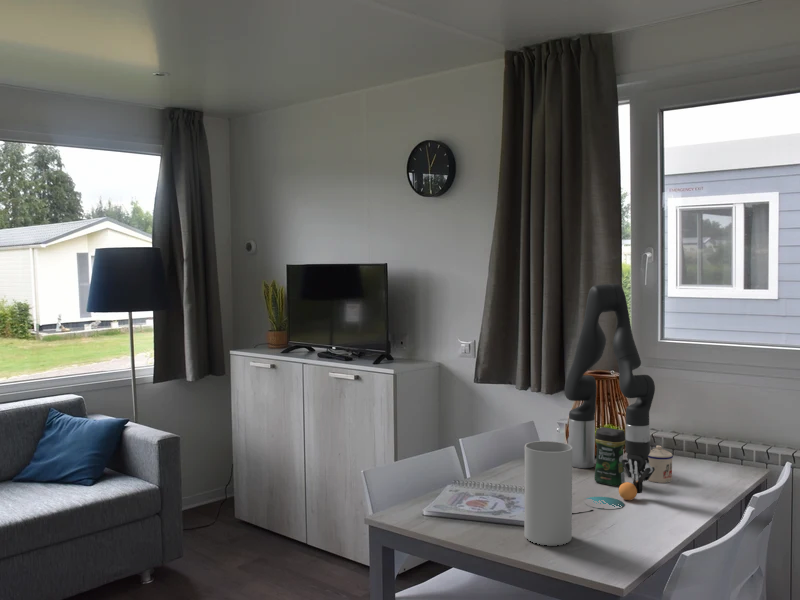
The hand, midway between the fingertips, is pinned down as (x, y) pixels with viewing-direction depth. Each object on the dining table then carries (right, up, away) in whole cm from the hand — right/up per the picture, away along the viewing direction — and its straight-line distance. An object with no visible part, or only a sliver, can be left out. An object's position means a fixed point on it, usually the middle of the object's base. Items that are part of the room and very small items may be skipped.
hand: (637, 492), depth 233 cm
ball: (-4, +1, -1) cm, 4 cm away
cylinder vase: (-35, -4, -34) cm, 49 cm away
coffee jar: (-4, -1, +17) cm, 18 cm away
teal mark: (-12, -2, -5) cm, 13 cm away
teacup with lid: (+15, -1, +22) cm, 26 cm away
